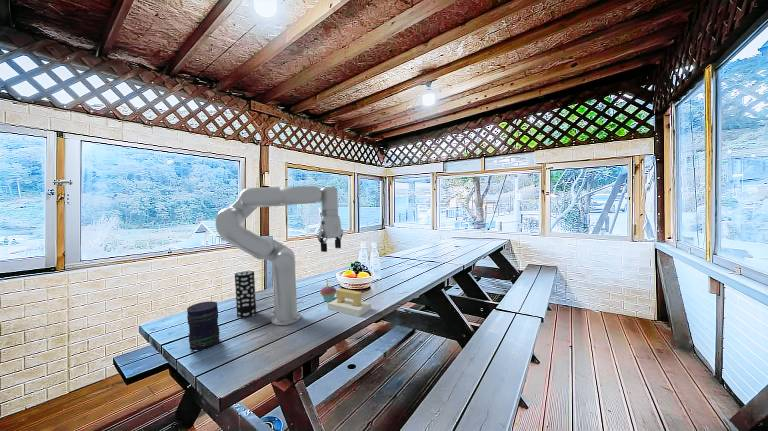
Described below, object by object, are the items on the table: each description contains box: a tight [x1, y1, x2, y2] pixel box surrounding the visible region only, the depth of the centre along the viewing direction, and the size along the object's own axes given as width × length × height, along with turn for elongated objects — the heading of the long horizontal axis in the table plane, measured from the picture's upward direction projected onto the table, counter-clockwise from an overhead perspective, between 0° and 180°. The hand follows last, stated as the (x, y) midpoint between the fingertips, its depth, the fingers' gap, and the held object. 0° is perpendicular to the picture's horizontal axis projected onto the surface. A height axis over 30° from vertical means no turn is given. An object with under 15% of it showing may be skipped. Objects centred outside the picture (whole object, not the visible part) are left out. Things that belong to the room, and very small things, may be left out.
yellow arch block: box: [335, 288, 362, 307], centre depth 139 cm, size 13×3×9 cm, turn 59°
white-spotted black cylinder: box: [234, 270, 257, 319], centre depth 135 cm, size 8×8×20 cm
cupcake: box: [320, 279, 337, 302], centre depth 152 cm, size 9×8×12 cm
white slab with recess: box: [327, 298, 372, 317], centre depth 139 cm, size 19×10×3 cm, turn 59°
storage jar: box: [186, 301, 221, 351], centre depth 108 cm, size 10×10×15 cm
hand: (331, 249), depth 133 cm, fingers open, 9 cm apart
